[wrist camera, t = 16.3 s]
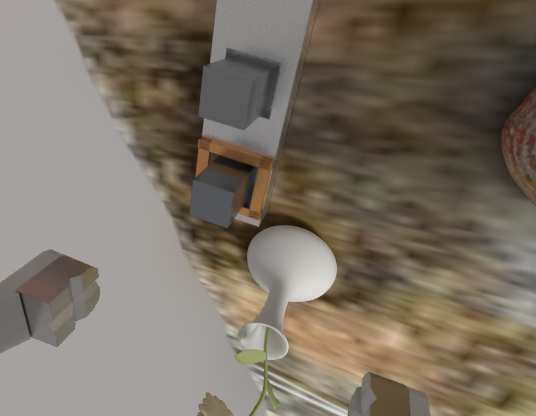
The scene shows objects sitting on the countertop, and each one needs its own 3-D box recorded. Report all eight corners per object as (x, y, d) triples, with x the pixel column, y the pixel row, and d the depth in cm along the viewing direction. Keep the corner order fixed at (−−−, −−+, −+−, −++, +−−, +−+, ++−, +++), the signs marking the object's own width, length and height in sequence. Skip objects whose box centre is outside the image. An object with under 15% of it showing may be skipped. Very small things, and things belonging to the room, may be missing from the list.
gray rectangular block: (260, 160, 38) (234, 193, 31) (253, 191, 40) (227, 228, 34) (225, 149, 39) (193, 179, 32) (221, 180, 41) (189, 214, 34)
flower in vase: (244, 217, 44) (120, 406, 23) (335, 218, 41) (284, 441, 20) (261, 296, 50) (174, 502, 29) (341, 302, 47) (308, 542, 26)
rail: (346, -109, 27) (341, -127, 23) (267, 211, 43) (256, 230, 39) (248, -129, 28) (228, -149, 24) (207, 191, 44) (191, 208, 40)
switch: (279, 64, 33) (252, 80, 26) (270, 106, 35) (243, 130, 28) (239, 53, 33) (203, 65, 26) (233, 95, 35) (198, 116, 29)
